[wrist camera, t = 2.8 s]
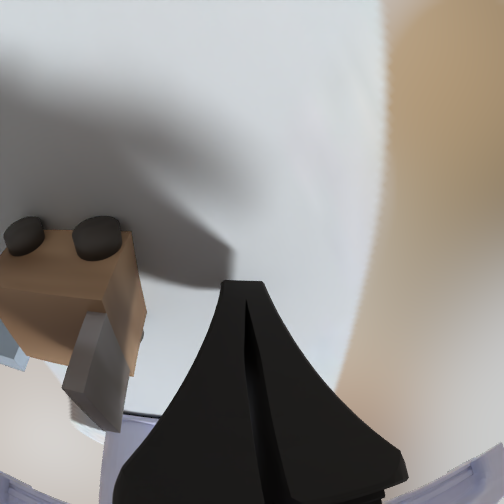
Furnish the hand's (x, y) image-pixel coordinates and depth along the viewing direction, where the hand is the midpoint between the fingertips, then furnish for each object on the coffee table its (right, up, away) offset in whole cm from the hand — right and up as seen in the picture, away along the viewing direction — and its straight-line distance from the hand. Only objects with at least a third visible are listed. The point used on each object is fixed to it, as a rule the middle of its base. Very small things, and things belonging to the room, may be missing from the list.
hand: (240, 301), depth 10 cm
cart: (-6, +1, 0) cm, 6 cm away
